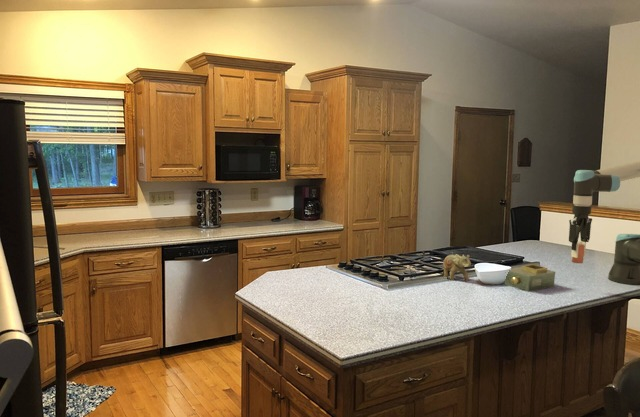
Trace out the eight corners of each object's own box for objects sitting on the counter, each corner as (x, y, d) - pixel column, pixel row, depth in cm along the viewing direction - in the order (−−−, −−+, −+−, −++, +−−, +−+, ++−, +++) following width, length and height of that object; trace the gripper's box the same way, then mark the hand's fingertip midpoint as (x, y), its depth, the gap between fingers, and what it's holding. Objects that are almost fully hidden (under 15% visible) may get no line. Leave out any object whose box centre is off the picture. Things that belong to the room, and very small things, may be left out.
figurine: (451, 290, 249) (455, 259, 242) (436, 274, 263) (439, 244, 256) (471, 287, 251) (475, 256, 245) (455, 272, 265) (459, 242, 259)
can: (575, 260, 243) (577, 241, 241) (585, 262, 239) (586, 243, 238) (569, 261, 240) (571, 242, 239) (578, 263, 236) (580, 244, 235)
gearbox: (530, 279, 257) (531, 262, 255) (554, 286, 245) (556, 268, 244) (501, 284, 246) (503, 267, 245) (526, 292, 235) (527, 273, 234)
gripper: (586, 202, 244) (581, 252, 247) (562, 205, 235) (558, 256, 238) (601, 204, 237) (597, 256, 240) (577, 207, 228) (573, 260, 231)
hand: (577, 256), depth 239 cm, fingers closed on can, 4 cm apart
